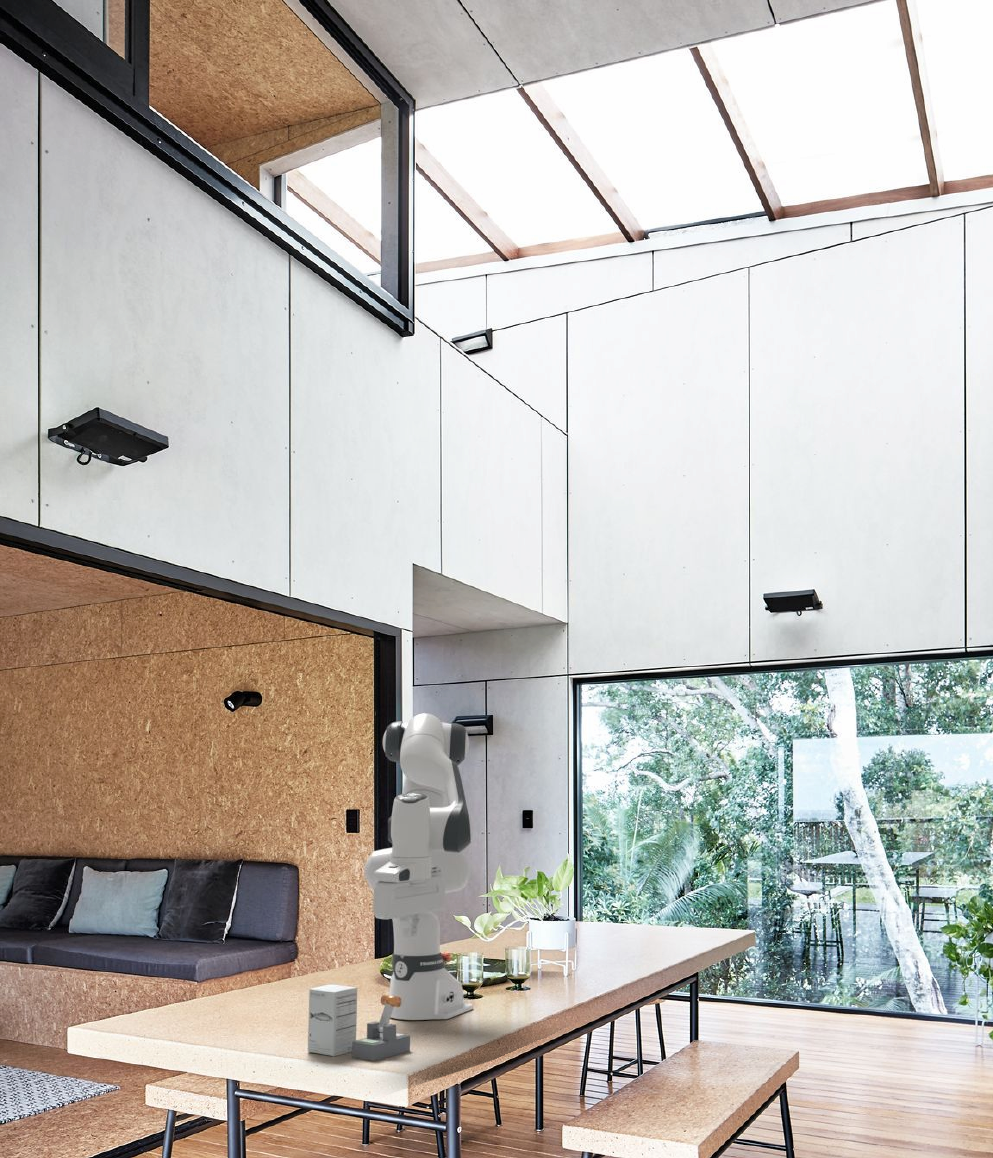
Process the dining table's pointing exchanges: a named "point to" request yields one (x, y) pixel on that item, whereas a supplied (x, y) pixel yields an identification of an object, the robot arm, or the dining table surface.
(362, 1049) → the breaker housing
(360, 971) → the dining table surface
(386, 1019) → the breaker lever
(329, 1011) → the supplement box
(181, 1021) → the dining table surface
